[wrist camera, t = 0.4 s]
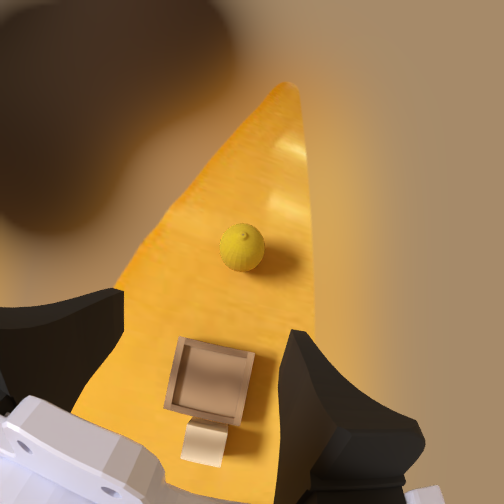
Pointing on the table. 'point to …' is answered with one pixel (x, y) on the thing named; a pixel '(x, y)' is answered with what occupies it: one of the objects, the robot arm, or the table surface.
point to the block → (204, 442)
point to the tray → (209, 381)
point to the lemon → (242, 247)
